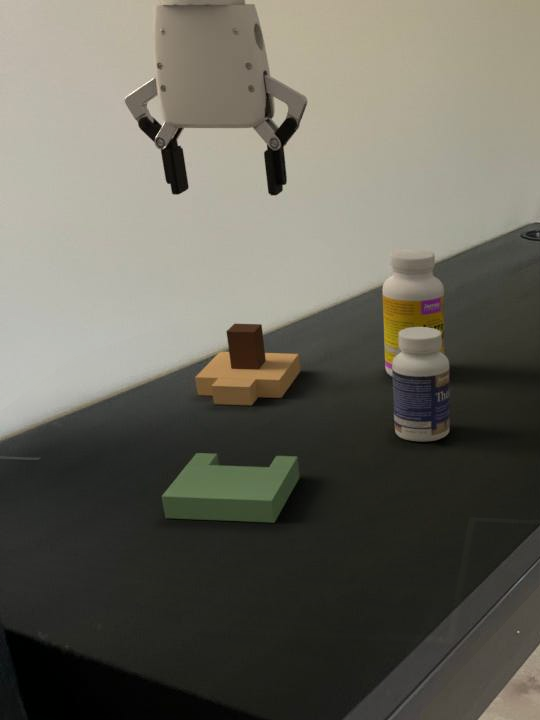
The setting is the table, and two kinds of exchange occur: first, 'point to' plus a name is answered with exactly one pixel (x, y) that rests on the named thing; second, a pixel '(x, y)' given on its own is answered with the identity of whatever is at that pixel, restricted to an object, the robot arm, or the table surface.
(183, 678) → the table surface
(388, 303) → the supplement bottle
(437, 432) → the pill bottle
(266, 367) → the tan pad
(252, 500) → the green pad
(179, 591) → the table surface
